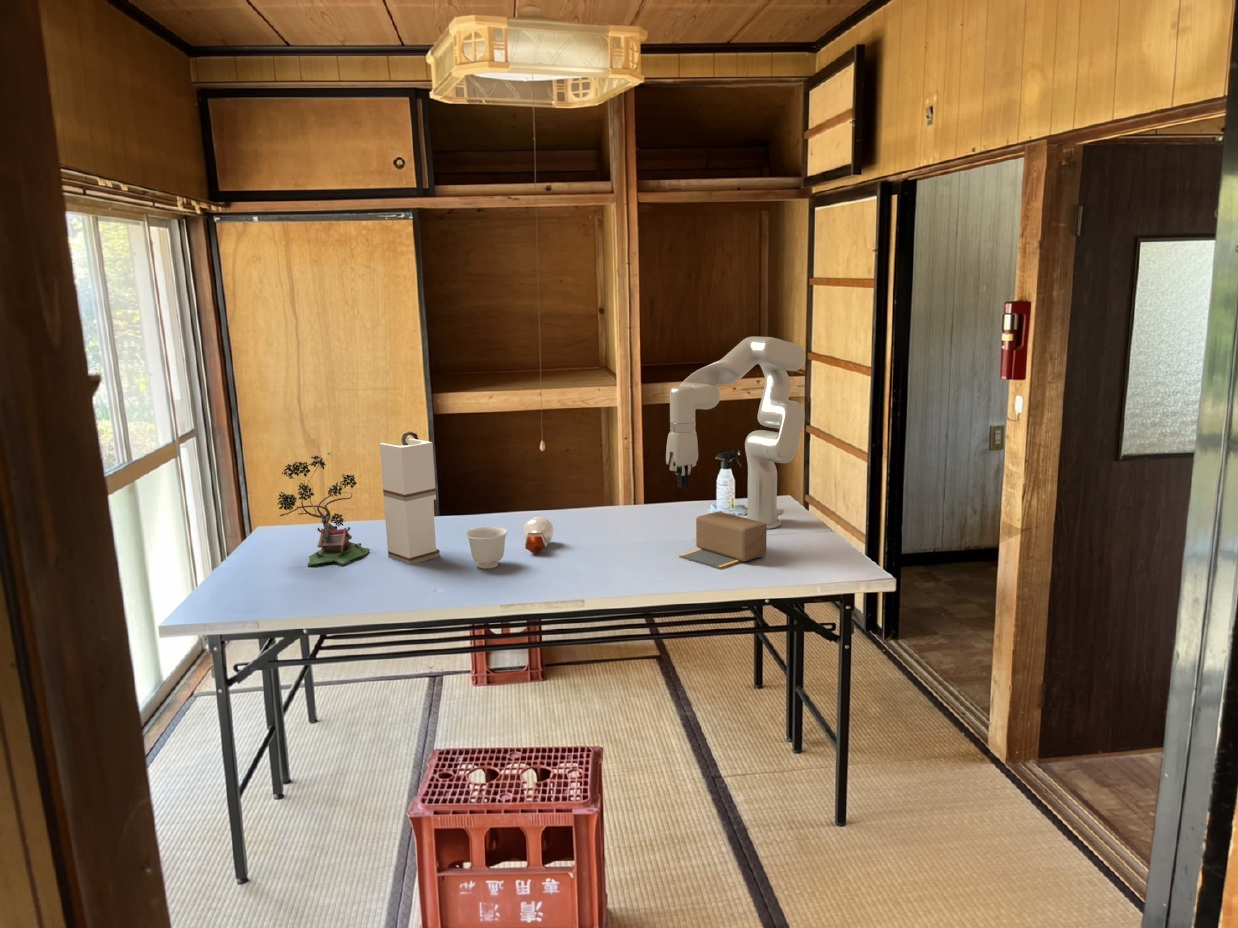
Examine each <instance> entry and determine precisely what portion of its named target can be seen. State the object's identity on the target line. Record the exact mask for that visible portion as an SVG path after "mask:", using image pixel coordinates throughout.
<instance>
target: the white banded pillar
mask: <svg viewBox="0 0 1238 928" xmlns="http://www.w3.org/2000/svg"><path fill="white" fill-rule="evenodd" d="M433 445H434V444H433V442H432V441H428V440H423V439H422V440H421V439H415V438H410V437H409V438H407V445H397V444H396V445H394V444H390V443H384V442H380V443H379V454H380V456H379V457H380V465H381V478H382V479H381V480H382V492H383V493H382V494H383V505H384V516H385V518H384V519H385V529H386V532H385V533H386V542H387V543H386V545H387V557H388V558H389V559H392V560H394V561H396V562H397V561H398V562H401V563H403V564H406V565H410V566H411V565H415V564H418V563H422V562H424V561H428V560H431V559H435V558H438V557H441V554H440V553H441V552H440V549H438V548H437V541H436V527H435V524H436V523H435V515H434V513H435V512H434V500H437V493H436V478H435V476H436V475H435V473H436V472H435V461H434V447H433Z"/></svg>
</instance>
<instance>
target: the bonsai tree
mask: <svg viewBox="0 0 1238 928" xmlns="http://www.w3.org/2000/svg"><path fill="white" fill-rule="evenodd" d="M310 458H311V459H313V461H312V462H310V463H308V461H303V462H302V461H299V462H298V461H295V462H294V463H293V464H289V463H288V464H287V465H285V466H284V467H286V468H284V469H283V471H282V472H281V474H283V475H284V476H285V475H286V477H287V478H288V479H289V480H292V479H294V480H295V479H296V478H295V477H293V475H295V476H297V477H299V476H300V475H301V474H303V477H304V478H306V477H308V474H309V473H310V472H311V470H310V469H309V466H311V467H314V468H315V470H314V472H313V474H312V475H311V477H310V479H309V480H308V482H307V483H305V481H303V482H304V483H303V482H300V483H299V484H298V487H299V488H298V489H297V496H300V497H299V498H297V497H296V496H295V494H293V493H291V494H288V493H287V494H286V493H285V491H280V492H279V494H278V496H279V497H278V499H277V500H278V503H277V505H278V506H279V507H278V509H279V510H282V509H284V510H285V511H288V510H289V511H288V512H287V513H282V514H280V515H279V517H284V516H285V515H287V516H288V515H290V514H291V513H293V512H295V511H298V510H299V509H300V510H301V513H297V515H300V516H301V515H309V516H311V517H314V518H319V519H321V523H322V525H323V528H321V529H320V527H319V526H318V527H317V529H316V531H318V532H319V533H320V535H319V536H320V537H319V540H318V543H317V548H321V549H319V550H317V551H316V552H315V553H313V554H311V555H309V556H308V558H309V562H308V563H307V567H308V568H309V567H312V566H316V565H321V564H329V563H333V562H335V563H337V564H339V565H341V566H344V565H346V564H348V563H350V562H352V561H353V560H355V559H359V558H363V557H364V556H367V555H368V554H369V552H370V549H371V548H367V547H363V546H362V543H361V542H359V543H355V542H351V541H350V540H352V538H353V536H352V535H351V534H350V533H349V531H350V530H351V527H350V526H348V527H344V528H341V529H338V528H339V527H340V526H344V523H346V520H344V518H342V517H343V514H338V513H336V512H335V513H334V514H332V516H331V512H330V510H329V508H328V505H330V504H332V503H334V502H338V501H341V500H342V501H343V500H351V499H352V498H353V493H350V492H348V491H346V492H345V491H343V493H346V494H350V497H340V498H334V499H332V500H329V501H328V502H326V503H325V504H324V506H322V503H323V502H324V501H325V500H327V499H329V498H331V497H334V496H335V497H338V496H342V490H344V489H346V487H348V486H349V485H350V488H351V489H353V488H354V487H355V486H356V485H357V481H356V480H355V479H356V478H355V475H354V474H351V475H349V474H344V473H343V474H342V475H341V477H343V480H342V481H340V482H338V481H337V482H336V483H335V484H333V485H331V487H330V486H329V487H328V489H329V490H328V491H327V494H328V495H327V496H326V497H325V498H322V500H321V501H320V502H319V503H318V504H315V505H313V503H312V500H311V499H312V497H313V496H315V493H314V492H313V491H314V490H313V488H314V487H312V486H313V485H312V483H310V481H311V479H312V478H313V475H314V474H315V472H316V470H317V469H318V468H319V467H320V468H322V470H324V469H325V466H327V464H326V463H325V460H323V458H322V457H321V456H319V455H313V456H310ZM297 481H300V479H297ZM309 484H310V485H311V487H310V485H309ZM338 484H339V485H338ZM343 486H344V488H343ZM297 499H298V500H301V505H299V506H296V503H297ZM308 500H309V502H310V505H304V501H308ZM294 507H296V508H295V509H294ZM307 508H313V510H314V512H315V513H312V512H309V511H308V510H306V509H307ZM302 509H303V510H302ZM320 509H323V510H324V511H325V512H326V514H324V513H323V512H322V511H321V510H320ZM304 512H305V513H304ZM317 513H318V514H317ZM329 521H330V522H331V523H330V522H329ZM343 522H344V523H343ZM332 523H333V524H335V525H333V524H332Z"/></svg>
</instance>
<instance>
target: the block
mask: <svg viewBox="0 0 1238 928" xmlns="http://www.w3.org/2000/svg"><path fill="white" fill-rule="evenodd" d="M747 518H748V517H743V516H738V515H735V514H730V513H726V512H722V511H714V512H711V513H706V514H703V515H699V516H697V517H696V518H695V519H696V520H695V530H696V532H695V546H696V548H697V549H704V550H708V551H711V552H714V553H718V554H721V555H724V556H728V557H731V558H735V559H738V560H741V561H743V562H748V561H751V560H754V559H757V558H761V557H762V556H765V555H766V554H767V538H768V537H767V530H768V529H767V525H766V524H765V523H763V522H759V521H755V520H751V519H747Z"/></svg>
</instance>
